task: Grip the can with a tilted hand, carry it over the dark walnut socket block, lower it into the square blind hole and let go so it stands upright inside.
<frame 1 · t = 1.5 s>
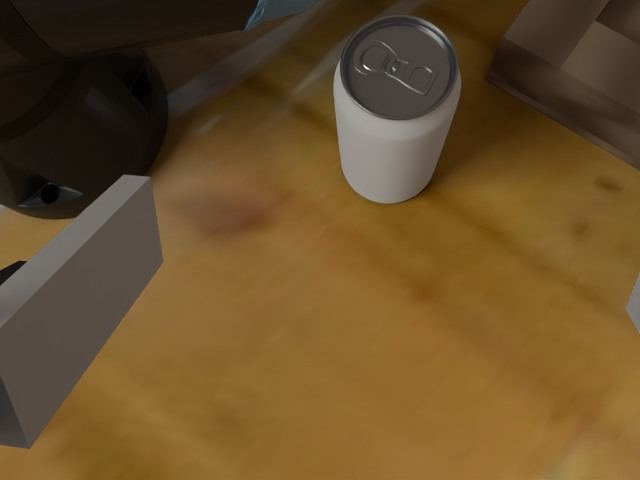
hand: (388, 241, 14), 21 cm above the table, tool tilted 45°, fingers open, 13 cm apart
can: (387, 162, 37), on the table
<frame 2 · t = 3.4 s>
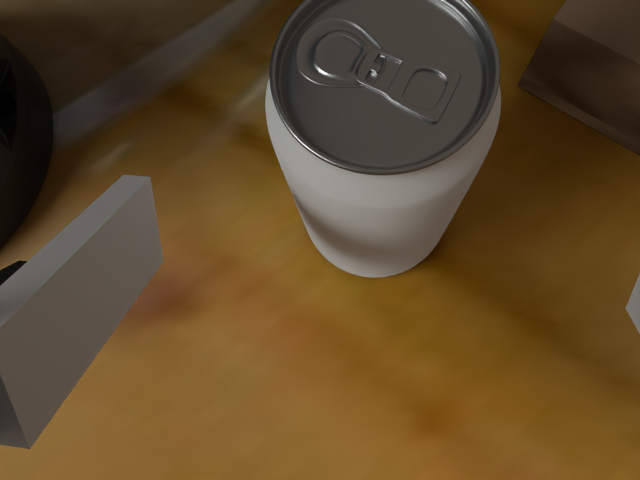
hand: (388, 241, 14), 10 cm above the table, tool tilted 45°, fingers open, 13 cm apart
can: (374, 211, 25), on the table
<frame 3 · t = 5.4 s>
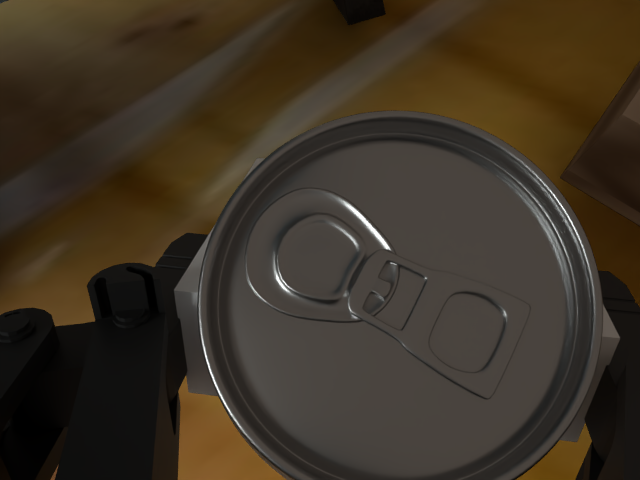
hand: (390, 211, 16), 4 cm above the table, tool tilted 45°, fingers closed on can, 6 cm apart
can: (376, 342, 19), on the table, touching gripper
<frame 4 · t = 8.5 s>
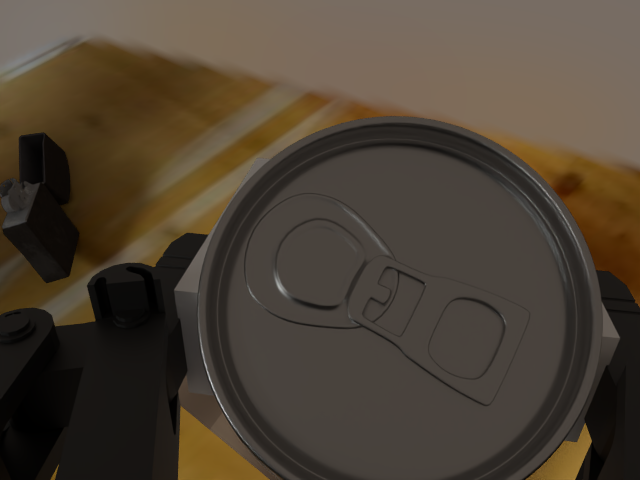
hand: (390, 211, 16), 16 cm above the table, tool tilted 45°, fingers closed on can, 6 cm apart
socket block: (372, 347, 31), on the table
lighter: (62, 217, 35), on the table
can: (375, 345, 19), point 12 cm above the table, touching gripper
when the fingers open (7 cm above the table, at t = 11.5 s): can drops 2 cm, resting on socket block.
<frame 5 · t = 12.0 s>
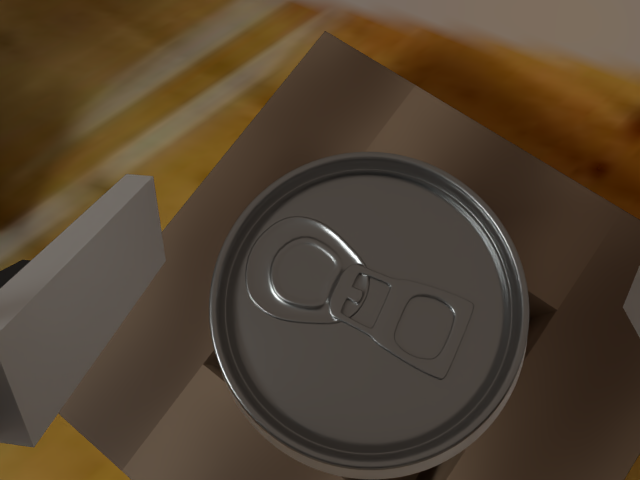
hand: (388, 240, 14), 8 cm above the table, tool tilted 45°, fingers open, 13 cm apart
socket block: (374, 345, 22), on the table
can: (369, 345, 21), point 1 cm above the table, touching socket block
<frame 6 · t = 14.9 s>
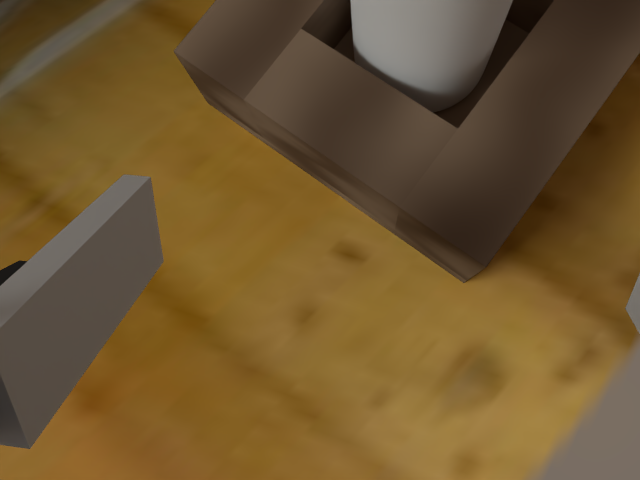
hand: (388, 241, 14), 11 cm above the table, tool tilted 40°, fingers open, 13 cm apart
socket block: (421, 66, 27), on the table
can: (418, 60, 27), point 1 cm above the table, touching socket block
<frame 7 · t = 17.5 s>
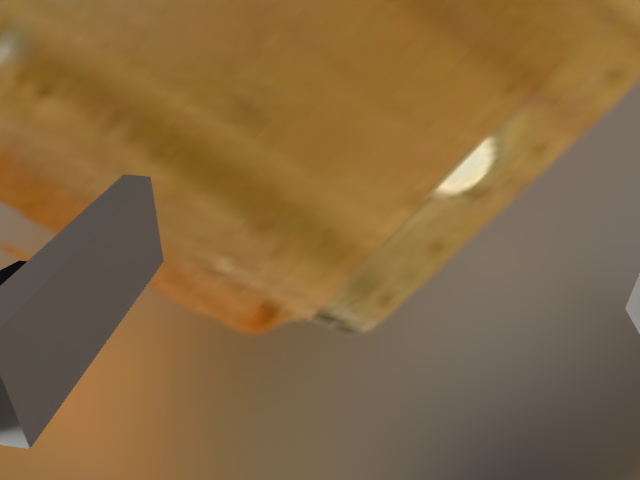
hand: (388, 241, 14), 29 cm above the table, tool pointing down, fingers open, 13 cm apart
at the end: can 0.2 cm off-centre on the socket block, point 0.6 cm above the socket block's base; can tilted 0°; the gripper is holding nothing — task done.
